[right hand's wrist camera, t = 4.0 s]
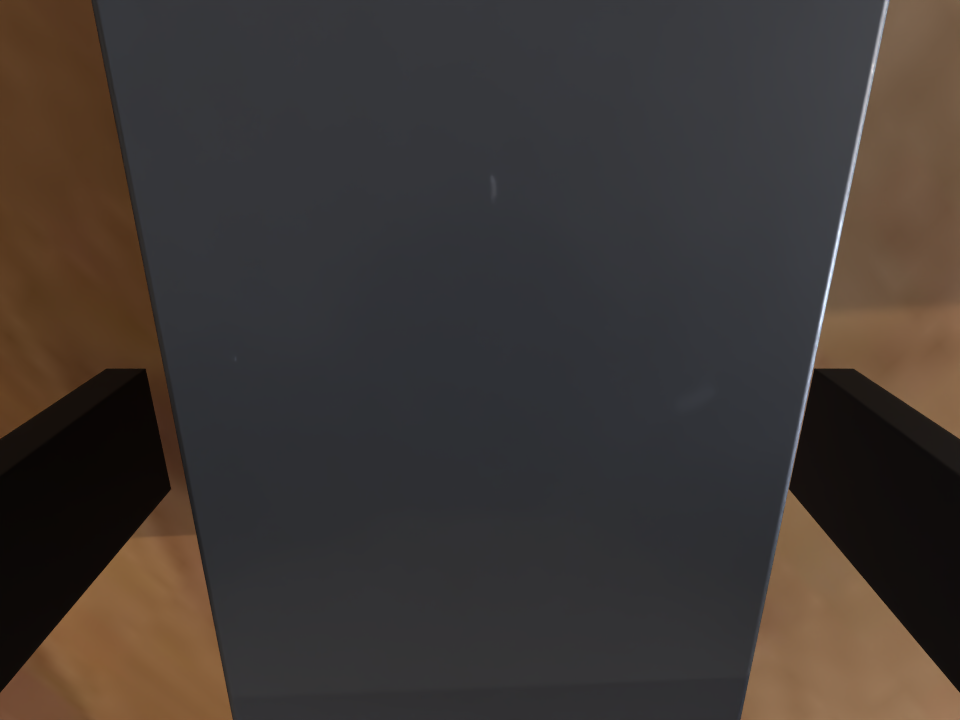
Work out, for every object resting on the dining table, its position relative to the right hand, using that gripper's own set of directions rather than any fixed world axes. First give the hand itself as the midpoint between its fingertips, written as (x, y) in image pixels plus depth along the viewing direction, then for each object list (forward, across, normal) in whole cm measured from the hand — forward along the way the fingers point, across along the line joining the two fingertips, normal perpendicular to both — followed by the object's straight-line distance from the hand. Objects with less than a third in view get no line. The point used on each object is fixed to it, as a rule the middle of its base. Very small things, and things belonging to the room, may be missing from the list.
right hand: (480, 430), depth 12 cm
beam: (+2, 0, -8) cm, 9 cm away
